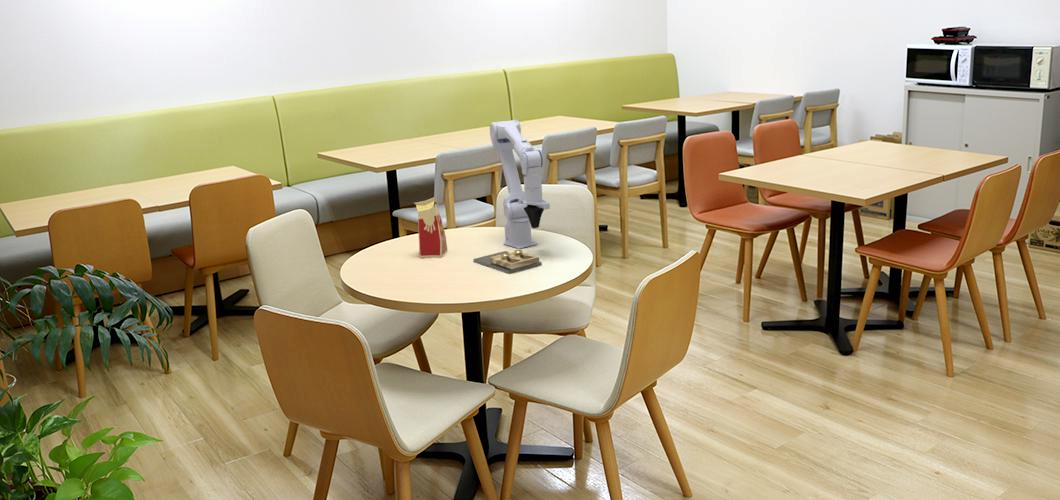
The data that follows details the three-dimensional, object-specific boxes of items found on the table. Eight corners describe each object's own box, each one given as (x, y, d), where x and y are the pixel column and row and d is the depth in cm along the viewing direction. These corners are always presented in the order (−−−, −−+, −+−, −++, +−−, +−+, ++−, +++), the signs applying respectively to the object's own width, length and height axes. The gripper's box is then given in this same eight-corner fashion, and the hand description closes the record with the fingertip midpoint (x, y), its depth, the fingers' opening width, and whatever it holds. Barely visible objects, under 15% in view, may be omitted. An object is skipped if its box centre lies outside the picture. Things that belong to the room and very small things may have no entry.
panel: (489, 262, 291) (489, 257, 291) (517, 255, 297) (516, 250, 297) (511, 269, 282) (511, 264, 281) (539, 261, 288) (539, 257, 288)
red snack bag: (447, 250, 313) (442, 194, 308) (442, 257, 305) (437, 200, 299) (422, 251, 314) (416, 195, 309) (416, 258, 306) (410, 200, 300)
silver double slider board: (473, 261, 297) (472, 249, 296) (505, 253, 305) (504, 241, 304) (508, 273, 282) (508, 261, 281) (541, 265, 289) (540, 252, 288)
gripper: (510, 186, 299) (512, 226, 302) (536, 192, 287) (539, 233, 291) (527, 183, 303) (529, 222, 306) (554, 188, 291) (556, 229, 295)
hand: (535, 227), depth 299 cm, fingers closed
